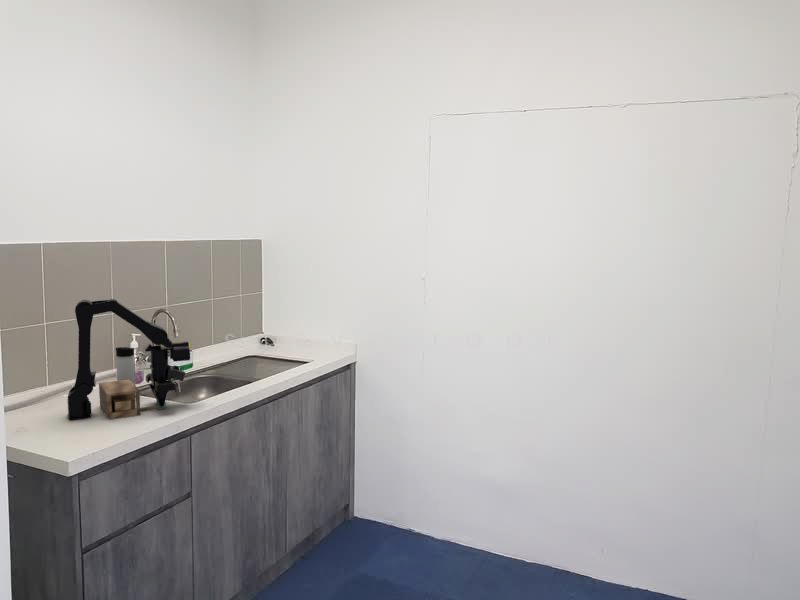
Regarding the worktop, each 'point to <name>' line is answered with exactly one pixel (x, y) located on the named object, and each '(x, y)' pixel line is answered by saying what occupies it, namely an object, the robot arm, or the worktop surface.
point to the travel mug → (125, 364)
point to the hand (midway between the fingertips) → (161, 405)
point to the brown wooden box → (115, 391)
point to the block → (125, 404)
